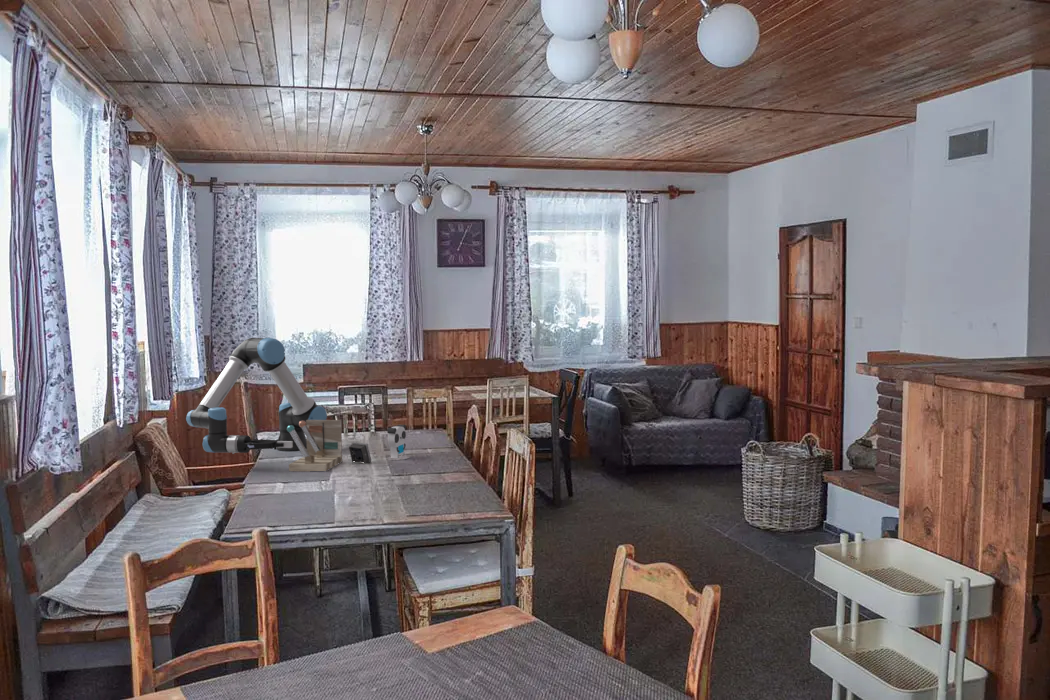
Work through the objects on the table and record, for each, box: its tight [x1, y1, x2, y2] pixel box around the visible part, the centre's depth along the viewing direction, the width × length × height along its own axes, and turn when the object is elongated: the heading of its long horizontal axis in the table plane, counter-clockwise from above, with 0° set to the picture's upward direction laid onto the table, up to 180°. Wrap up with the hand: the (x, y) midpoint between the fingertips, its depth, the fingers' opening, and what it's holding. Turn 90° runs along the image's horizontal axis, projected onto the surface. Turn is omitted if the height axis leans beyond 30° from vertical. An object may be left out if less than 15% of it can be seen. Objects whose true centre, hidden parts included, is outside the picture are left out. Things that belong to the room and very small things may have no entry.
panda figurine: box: [386, 424, 407, 458], centre depth 381 cm, size 12×11×15 cm
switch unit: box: [288, 419, 343, 472], centre depth 363 cm, size 23×16×19 cm
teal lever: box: [287, 425, 310, 458], centre depth 356 cm, size 3×3×17 cm
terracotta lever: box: [299, 421, 321, 452], centre depth 370 cm, size 3×3×17 cm
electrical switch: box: [348, 441, 372, 464], centre depth 371 cm, size 9×5×9 cm, turn 57°
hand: (291, 444), depth 356 cm, fingers closed
